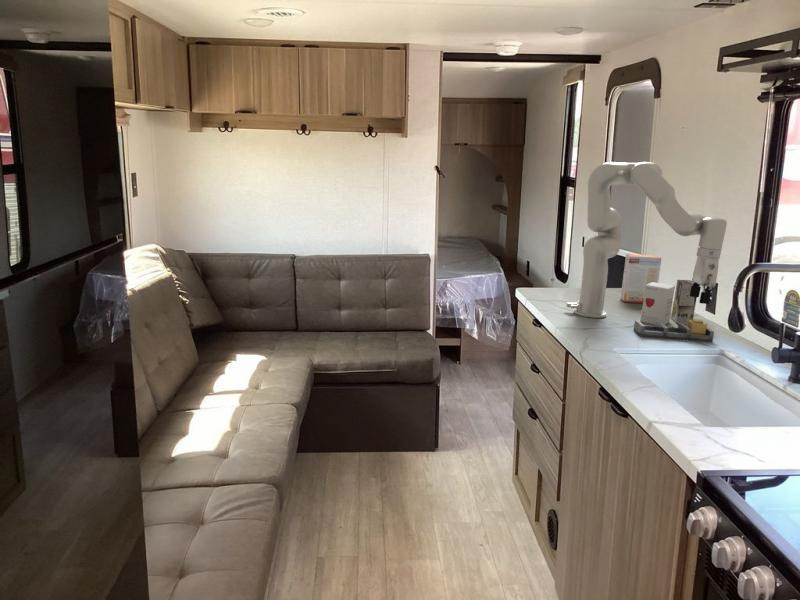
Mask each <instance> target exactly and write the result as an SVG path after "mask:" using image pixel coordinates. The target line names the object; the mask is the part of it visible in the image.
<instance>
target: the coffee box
mask: <svg viewBox="0 0 800 600" xmlns="http://www.w3.org/2000/svg"><path fill="white" fill-rule="evenodd" d="M692 282H693V280H692V279H688V280H687V279H676V285H675V290H674V296H673V303H672V305H673V306H672V310H671V311H672V313H671V316H670V317H671V319H672V320H673V321H674V322H675V324H679V323H683V324H685V325H687V321H688V320H692V319H694V315H695V309H696V303H697V298H698V297H691V296H690V291H691V286H693V285H692Z"/></svg>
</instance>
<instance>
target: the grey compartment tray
mask: <svg viewBox="0 0 800 600" xmlns="http://www.w3.org/2000/svg"><path fill="white" fill-rule="evenodd" d="M633 331H634V332H635V333H636V334H637V335H638V337H641V338H649V339H650V338H651V339H659V340H660V339H661V340H662V339H663V340H674V341H675V340H676V341H686V342H687V341H689V342H698V343H699V342H701V343H713V339H714V337H715V336H714V334H715V331H714V330H712V329H711V328H710V327H708V326H707V328H706V333H705V335H698V334H691V331H692V330H691V329H690V328H688V327H687V324H683V323H678V325H677V327H675V326H672V327H671V326H666V325H664V324H663V323H662V322H659V321H657V322H656V325H648V324H647V325H646V324H643V322H640V319H634V325H633Z"/></svg>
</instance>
